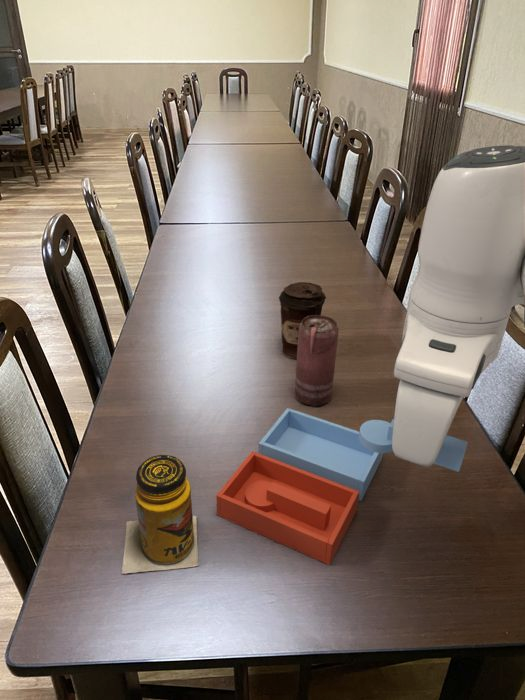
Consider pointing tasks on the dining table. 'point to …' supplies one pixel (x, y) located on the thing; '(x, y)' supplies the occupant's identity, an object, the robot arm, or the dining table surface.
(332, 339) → the can
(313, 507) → the red spoon
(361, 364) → the dining table surface
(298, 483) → the red bin
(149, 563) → the condiment
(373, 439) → the blue spoon
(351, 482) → the blue bin
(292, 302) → the coffee cup
